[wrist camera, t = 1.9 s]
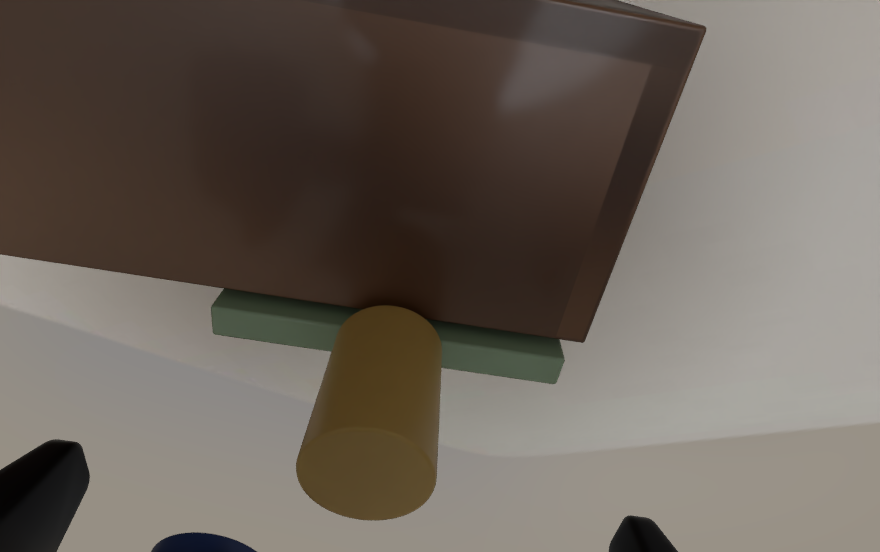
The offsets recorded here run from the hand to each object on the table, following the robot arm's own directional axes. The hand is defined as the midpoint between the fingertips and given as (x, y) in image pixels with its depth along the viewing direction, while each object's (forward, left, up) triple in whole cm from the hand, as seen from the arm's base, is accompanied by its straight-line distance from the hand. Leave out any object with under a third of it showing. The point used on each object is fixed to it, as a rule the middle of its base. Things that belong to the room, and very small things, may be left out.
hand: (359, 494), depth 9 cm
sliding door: (0, 0, -11) cm, 11 cm away
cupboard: (+5, +2, -12) cm, 13 cm away
